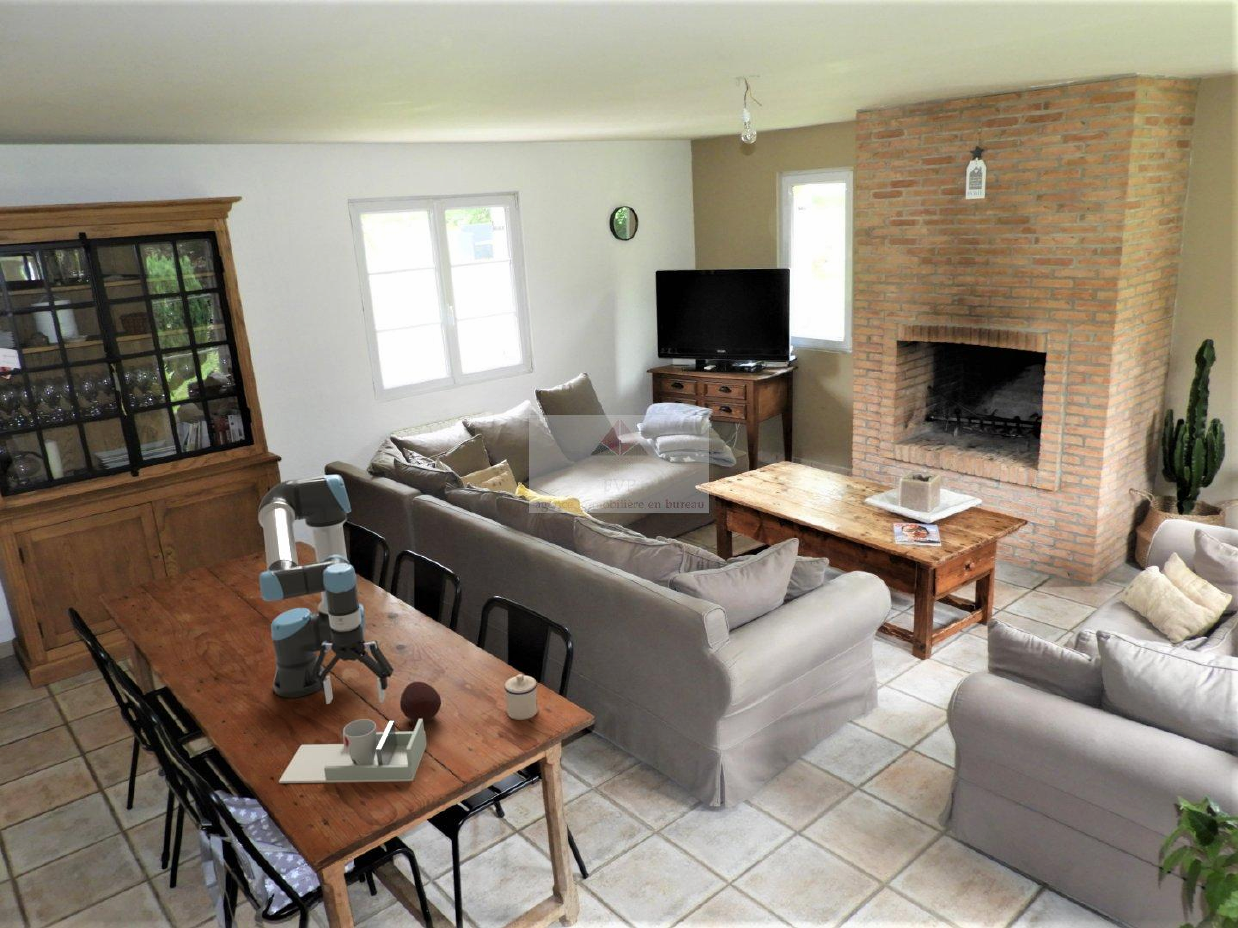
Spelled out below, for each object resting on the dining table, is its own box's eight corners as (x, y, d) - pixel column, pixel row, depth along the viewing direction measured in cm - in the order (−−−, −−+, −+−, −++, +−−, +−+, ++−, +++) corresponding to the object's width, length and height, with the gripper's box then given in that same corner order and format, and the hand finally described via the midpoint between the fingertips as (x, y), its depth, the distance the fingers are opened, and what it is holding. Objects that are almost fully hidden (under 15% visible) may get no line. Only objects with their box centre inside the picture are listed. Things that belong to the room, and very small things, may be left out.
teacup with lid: (545, 712, 254) (542, 675, 251) (518, 724, 249) (515, 687, 245) (521, 695, 263) (518, 660, 260) (494, 707, 258) (491, 671, 254)
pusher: (379, 774, 228) (376, 749, 226) (392, 745, 240) (389, 721, 238) (384, 774, 228) (380, 749, 226) (396, 745, 240) (393, 720, 238)
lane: (279, 783, 227) (274, 753, 225) (301, 746, 242) (297, 718, 240) (412, 781, 226) (409, 751, 224) (426, 744, 241) (423, 716, 239)
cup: (351, 753, 237) (346, 720, 235) (382, 751, 238) (378, 718, 235) (345, 772, 230) (340, 738, 227) (377, 769, 230) (372, 735, 227)
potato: (407, 736, 245) (403, 703, 242) (398, 712, 257) (394, 680, 254) (447, 726, 249) (443, 693, 246) (436, 703, 261) (433, 671, 258)
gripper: (290, 633, 220) (302, 709, 226) (391, 631, 219) (400, 707, 225) (301, 619, 227) (312, 693, 233) (399, 617, 226) (408, 691, 232)
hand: (356, 700), depth 229 cm, fingers open, 13 cm apart
